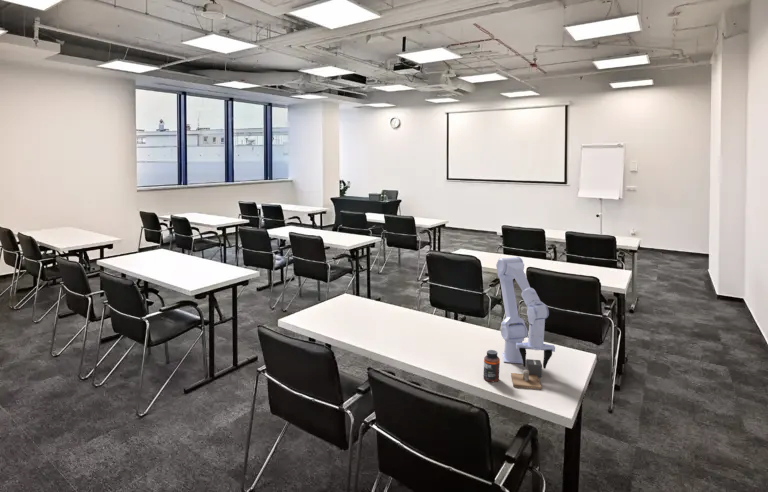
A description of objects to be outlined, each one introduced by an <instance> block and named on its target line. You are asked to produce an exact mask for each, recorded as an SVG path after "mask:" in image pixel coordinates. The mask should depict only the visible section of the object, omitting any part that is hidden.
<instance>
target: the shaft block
mask: <svg viewBox="0 0 768 492" xmlns="http://www.w3.org/2000/svg"><path fill="white" fill-rule="evenodd" d="M510 377H511V382H512V386H513V388H520V389H521V388H522V389H524V388H525V389H532V390H533V389H534V390H536V389H537V390H542V385H541V383H540V377H538V375H529V370H526V369H523V370H522V373H515V372H512V373H511V372H510Z"/></svg>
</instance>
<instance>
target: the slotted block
mask: <svg viewBox="0 0 768 492" xmlns="http://www.w3.org/2000/svg"><path fill="white" fill-rule="evenodd" d="M525 370H529V375H538V378H542V375H543V374H542V372H543V363H542V361H541V360H540V359H530V358H529V359H528V358H526V366H525Z"/></svg>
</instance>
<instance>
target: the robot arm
mask: <svg viewBox="0 0 768 492" xmlns="http://www.w3.org/2000/svg"><path fill="white" fill-rule="evenodd" d="M495 265H496V267H495V268H496V273H497V277H498V279H499V283H500V288H501V294H502V300H503V307H504V313H505V314H504V315H505V318H504V319H503V321H501V322H500V326H501V328H500V329H501V330H500V335H501V338H502V339H504V352H502V353H501V355H502V360H503V361H502V362H503V363H507V364H508V363H509V364H511V363H512V364H521V365H522V367H523V368H526V364H527V358H526V357H527V350H534V351H543V362H542V369H546V367H547V364H548V363H549V360H550V359H551V358H552V355H553V353H554V352H556V346H555V345H553V344H547V343H544V342H545V341H544V339H545V328H546V327H545V325H546V324H545V323H546V319H547V318H548V317H549V315H550V311H549V308H548V305H547V304H545V303H544V302H543V301H541V299H540V297H539V296H538V293H537V291H536V290H535V289H534V288H533V287H531V286H530V283H529V281H528V277H527V276H526V273H525V271H524V269H525V263H524V261H523V258H521V257H520V256H515V257H500V258H499V259H498V260H497V262H496V264H495ZM514 279H515V282H516V283H517V285H518V286H519V288H520V290H521V293H520V295H521V298H522V300H523V302H524V304H525V305H526V308H527V310H526V314H527V321H528V323H529V324H528V327H529V328H527V326H526V323H525V320H524V319H523V318H521V317H520V315H519V312H518V307H517V305H518V304H517V299H516V293H515V287H514ZM527 337H528V338H527ZM526 338H527V340H528V341H527V342H523V341H525V339H526Z"/></svg>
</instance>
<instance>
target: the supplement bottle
mask: <svg viewBox="0 0 768 492" xmlns="http://www.w3.org/2000/svg"><path fill="white" fill-rule="evenodd" d="M483 358H484V359H483V379H484V380H485V381H486V382H489V383H490V382H491V383H496V382H498V381H499V379H500V364H501V361H500V360H501V359H500V357H499V356H498V351H497V350H494V349H489V350H486V355H484V357H483Z"/></svg>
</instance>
